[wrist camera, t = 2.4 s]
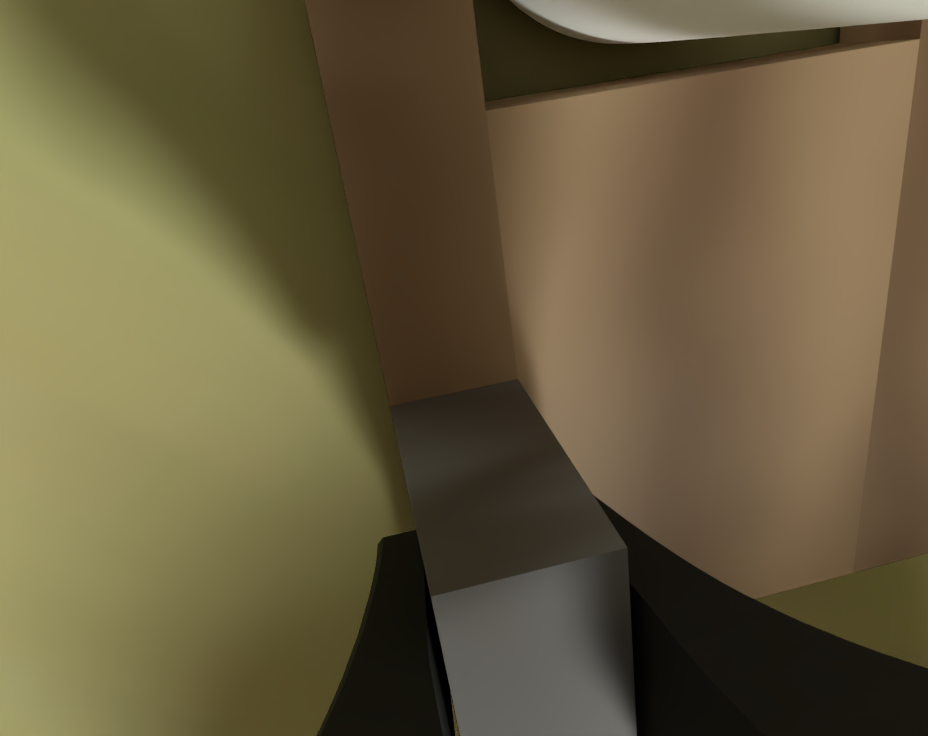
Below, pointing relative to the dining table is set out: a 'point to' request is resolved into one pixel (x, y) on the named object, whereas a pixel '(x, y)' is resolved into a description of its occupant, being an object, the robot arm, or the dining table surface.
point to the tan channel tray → (634, 332)
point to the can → (708, 17)
